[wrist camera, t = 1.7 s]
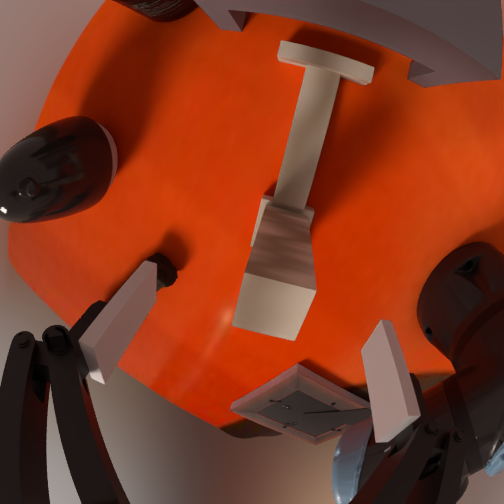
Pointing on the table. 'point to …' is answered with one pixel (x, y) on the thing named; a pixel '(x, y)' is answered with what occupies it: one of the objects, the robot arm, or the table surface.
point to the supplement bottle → (160, 8)
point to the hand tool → (163, 271)
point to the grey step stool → (398, 30)
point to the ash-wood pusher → (293, 202)
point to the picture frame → (303, 406)
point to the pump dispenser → (57, 171)
